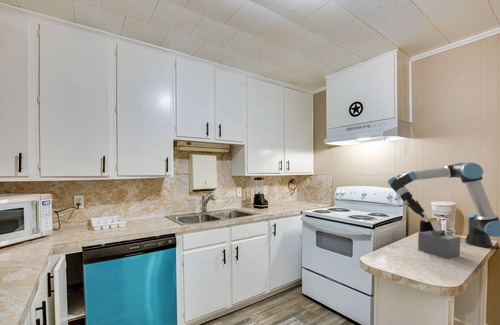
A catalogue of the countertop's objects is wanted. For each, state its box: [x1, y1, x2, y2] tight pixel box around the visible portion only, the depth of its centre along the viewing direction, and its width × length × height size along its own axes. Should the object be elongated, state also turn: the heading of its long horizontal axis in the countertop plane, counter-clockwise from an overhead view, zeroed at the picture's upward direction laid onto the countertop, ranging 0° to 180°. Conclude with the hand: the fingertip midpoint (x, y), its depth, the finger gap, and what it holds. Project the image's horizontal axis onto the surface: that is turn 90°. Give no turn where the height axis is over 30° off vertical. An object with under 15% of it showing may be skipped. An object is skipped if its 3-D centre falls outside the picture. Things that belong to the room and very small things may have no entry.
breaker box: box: [417, 229, 461, 260], centre depth 164 cm, size 14×18×15 cm
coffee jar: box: [419, 217, 434, 232], centre depth 185 cm, size 11×11×18 cm
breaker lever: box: [429, 217, 443, 234], centre depth 166 cm, size 6×2×11 cm, turn 117°
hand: (427, 220), depth 170 cm, fingers closed
